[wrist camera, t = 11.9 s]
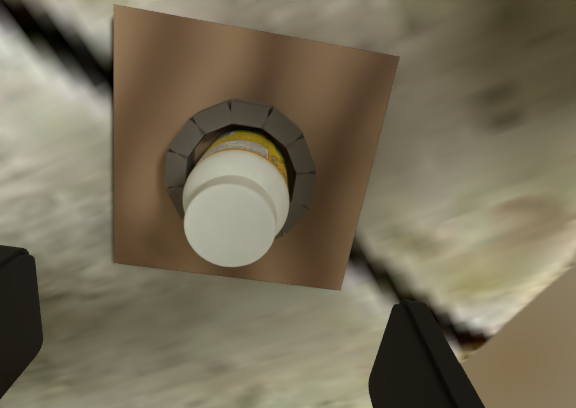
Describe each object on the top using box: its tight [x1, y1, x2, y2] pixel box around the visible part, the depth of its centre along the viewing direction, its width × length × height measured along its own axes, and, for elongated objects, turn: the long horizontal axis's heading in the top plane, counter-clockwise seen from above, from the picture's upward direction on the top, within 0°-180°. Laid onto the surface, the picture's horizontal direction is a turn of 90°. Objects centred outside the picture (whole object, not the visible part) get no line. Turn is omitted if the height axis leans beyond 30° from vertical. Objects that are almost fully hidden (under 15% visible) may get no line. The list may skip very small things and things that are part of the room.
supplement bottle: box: [183, 128, 289, 267], centre depth 20 cm, size 5×5×10 cm
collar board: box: [114, 4, 399, 290], centre depth 24 cm, size 17×17×4 cm
